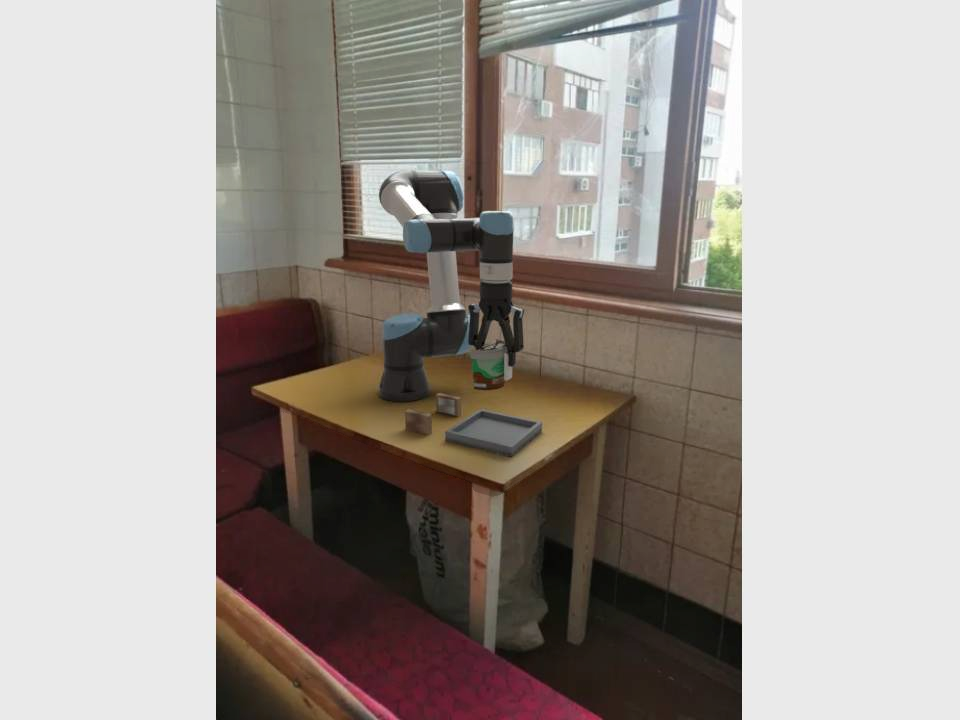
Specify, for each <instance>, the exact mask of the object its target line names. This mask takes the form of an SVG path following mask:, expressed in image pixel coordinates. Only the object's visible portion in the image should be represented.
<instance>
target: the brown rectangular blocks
mask: <svg viewBox="0 0 960 720" xmlns="http://www.w3.org/2000/svg"><path fill="white" fill-rule="evenodd" d="M435 402H436V404H435V405H436V407H435V409H436V410H435V411H436V412H437V413H440V414H443V415H444V414H445V415H448V416H452V417H453V416H454V417H460V416H462V397H460V396H455V395H451V394H446V393H441V392H438V393H436V394H435ZM432 419H433V417H432V414H431V413H427V412H423V411H419V410H414V409H411V408H408V409H406V410H405V411H404V422H405V424H404V426H405V430H406V431H410V432H414V433H419V434H421V435H422V434H423V435H426V436H429V435H431V434H433V424H432V423H433V421H432Z"/></svg>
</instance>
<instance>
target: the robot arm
mask: <svg viewBox="0 0 960 720" xmlns="http://www.w3.org/2000/svg"><path fill="white" fill-rule="evenodd" d="M378 191H379V192H378V199H379V203H380V205H381V206H382V208H383V210H384V211H385V212H386V213H388V214H389V215H390V216H394V218H395V219H396V220H397V222H398V223H399V225H400V226H401V227H402V228H403V229H402V240H403V245H404V248H405V250H406V251H407V252H409V253H419V254H425V253H426V261H427V270H428V271H427V273H428V282H429V295H430V307H429V308H428V310H426V318H425V317H423V315H422V314H421V313H416V312H412V313H411V312H408V313H401V314H396V315H393V316H391V317H389V318H387V319H385V320H384V321H383V324H382V334H381V338H382V351H383V371H382V376H381V379H380V382H379V386H378V392H379V393H378V395H379V396H380V398H382V399H384V400H386V401H391V402H399V403H401V402H412V401H414V402H415V401H419V400H423V399H424V398H426V397H428V396H429V395H430V394H431V384H430V382H429V379H428V376H427V373H426V370H425V364H424V359H425V358H426V359H427V358H436V357H437V358H438V357H446V356H447V357H448V356H457V355H461V354H466V353H468V352H469V351H470V349H471V348H472V347H474V348H475V350H480V349H482V348H483V347H485V346H486V344H485V343H486V340H487V337H488V334H489V330H490V328H491V325H492V324H491V323H492V322H493V321H495V322H497V324H498V325H499V327H500V329H501V332H502V337H503V341H505V344H506V348H507V352H506V353H505V354H504V380H505V382H506V381H508V380H510V379H512V378H513V367H514V366H515V365H516V364H517V363H516V362H517V361H516V358H517V357H516V356H517V353H518V352H520V351H522V350H524V348H525V347H524V330H523V329H524V328H523V327H524V326H523V325H524V324H523V317H524V315H525V309H524V308H523V307H521V308H519V307H517V306H514V304H513V301H512V300H513V299H512V298H513V282H512V281H511V280H512V279H513V278H514V277H513V275H514V273H513V272H514V271H513V270H514V269H513V268H514V265H513V264H514V263H513V260H514V259H513V258H514V257H513V256H514V255H513V253H514V231H515V227H514V215H513V213H512V212H511V211H509V210H508V211H507V210H506V211H505V210H504V211H503V210H485V211H482V212H481V213H480V215H479V216H478V217H475V216H473V217H469V218H458V216H459V214H458V212H461V211H462V209H463V208H464V200H465V199H464V191H463V187H462V183H461V180H460V178H459V177H458V175H457V174H456V173H455V172H454V171H451V170H442V169H439V170H438V169H437V170H436V169H435V170H434V169H433V170H430V169H429V170H416V169H415V170H410V169H406V170H405V169H404V170H400V171H397V172H395V173H392V174H390V175H389V176H387V178H385V179H384V181H383V182H382V183H381V185H380V187H379V189H378ZM467 251H469V252H471V251H479V279H480V282H479V302H478V303H477V302H475V303H472V304H469V305H468V312H469V314H467V310H466V308H465V306H463V305H462V304H461V301H460V290H459V289H460V288H459V277H458V276H459V275H458V264H457V262H458V261H457V252H467ZM480 312H482V314H483V315H482V316H481V317H482V318H481V324H480ZM510 314H511V316H512V327H513V328H512V327H511V319H510V316H509V315H510ZM479 324H480V325H479ZM512 330H513V331H512Z"/></svg>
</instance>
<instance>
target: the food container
mask: <svg viewBox="0 0 960 720" xmlns="http://www.w3.org/2000/svg"><path fill="white" fill-rule="evenodd" d="M506 352H507V348H506V344H505V341H504V340H502V339H496V340H495V342H494V343H493V344H491V345H485V346H483V348H482V349H480V350H476V349H471V352H470V359H471V361H472V363H471V364H472V378H473V390H475V391H476V390H477V391H494V390H499V389H501V388H503V387H504V386H505V385H506V384H505V383H506V380H504V354H505V353H506Z"/></svg>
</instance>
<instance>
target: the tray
mask: <svg viewBox="0 0 960 720" xmlns="http://www.w3.org/2000/svg"><path fill="white" fill-rule="evenodd" d="M541 431H542V432H543V421H538V420H535V419H529V418H524V417H521V416H515V415H510V414H506V413H501V412H496V411H493V410H492V411H491V410H487V409H486V410H485V409H482V408H479V409H478V410H477V411H475V412H473V413H471V414H470V415H469V416H467V417H465V418H463V420H460V421H459V422H457V423H456V424H454V425H453V426H451V427H449V428H448V429H447V430H445V431H444V432H445V434H444V435H445V438H444V440H445V442H449V443H453V444H456V445H460V446H465V447H467V448H468V447H469V448H473V449H477V450H480V449H481V450H480V451H484V450H486V451H485V452H488V451H490V452H489V453H492V452H494V453H493V454H496V453H499V454H498V455H500V454H503V455H502V456H504V455H507V456H506V457H508V456H511V457H510V458H513V457H514V456H515V455H516V454H517V453H518V452H519V451H521V450H522V449H523V448H524V447H525V446H527V445H528V444H529V443H530V442H531V441H533V438H534V437H535V436H536V437H537V436H539V435H540V434H541V433H542V432H541ZM540 432H541V433H540ZM536 437H535V438H536ZM535 438H534V439H535ZM530 440H531V441H530ZM529 441H530V442H529ZM528 442H529V443H528ZM527 443H528V444H527ZM526 444H527V445H526ZM524 445H525V446H524ZM523 446H524V447H523ZM522 447H523V448H522ZM521 448H522V449H521ZM520 449H521V450H520ZM517 451H518V452H517ZM515 453H516V454H515ZM514 454H515V455H514ZM513 455H514V456H513Z"/></svg>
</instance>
